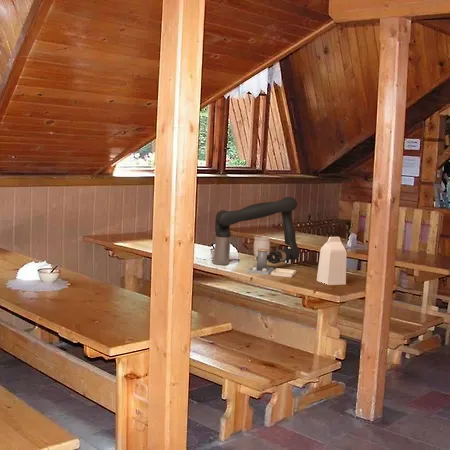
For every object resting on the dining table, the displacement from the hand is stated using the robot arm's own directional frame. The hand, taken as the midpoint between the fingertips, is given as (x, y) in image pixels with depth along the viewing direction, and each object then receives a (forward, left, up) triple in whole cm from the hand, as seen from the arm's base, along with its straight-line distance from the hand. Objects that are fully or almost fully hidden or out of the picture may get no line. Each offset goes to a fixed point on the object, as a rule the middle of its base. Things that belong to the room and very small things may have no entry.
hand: (263, 259), depth 395 cm
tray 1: (0, -2, -8) cm, 8 cm away
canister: (0, -1, -7) cm, 7 cm away
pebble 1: (-3, -6, -7) cm, 10 cm away
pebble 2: (+3, -6, -7) cm, 10 cm away
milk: (+42, -8, -8) cm, 43 cm away
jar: (-10, +41, -8) cm, 43 cm away
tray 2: (+13, -2, -8) cm, 15 cm away
